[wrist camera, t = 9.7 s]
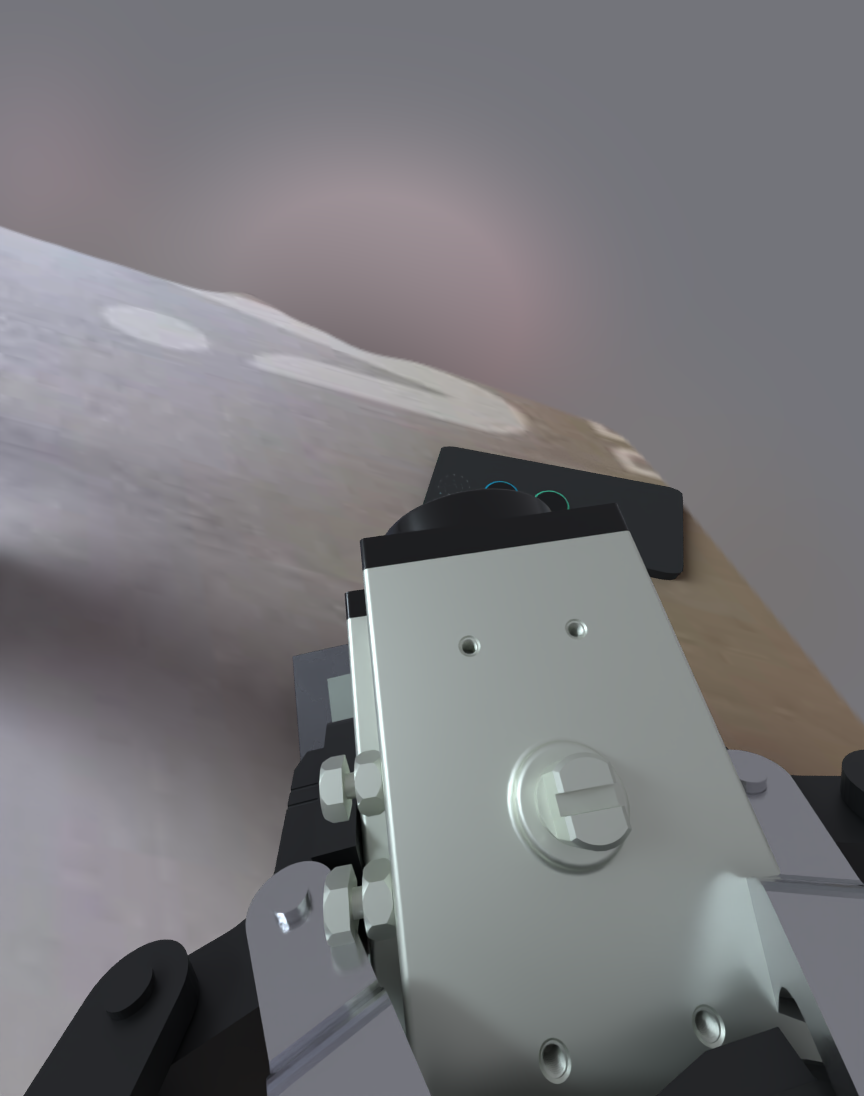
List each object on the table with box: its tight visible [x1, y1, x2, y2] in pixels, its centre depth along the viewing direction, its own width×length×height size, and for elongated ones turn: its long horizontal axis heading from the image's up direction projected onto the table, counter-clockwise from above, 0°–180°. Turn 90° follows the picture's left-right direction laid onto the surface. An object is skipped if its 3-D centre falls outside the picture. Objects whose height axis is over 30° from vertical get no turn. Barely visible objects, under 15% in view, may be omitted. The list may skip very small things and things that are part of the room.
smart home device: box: [423, 447, 683, 580], centre depth 37 cm, size 8×2×20 cm
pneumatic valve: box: [319, 488, 822, 1096], centre depth 10 cm, size 6×12×12 cm, turn 9°
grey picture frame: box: [293, 644, 371, 964], centre depth 25 cm, size 20×16×5 cm
